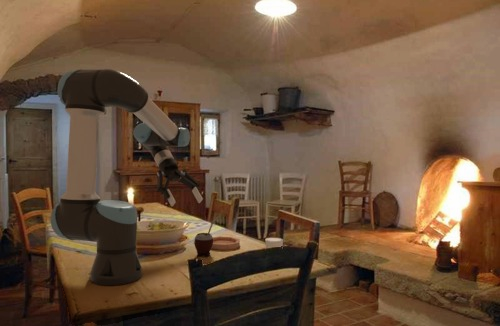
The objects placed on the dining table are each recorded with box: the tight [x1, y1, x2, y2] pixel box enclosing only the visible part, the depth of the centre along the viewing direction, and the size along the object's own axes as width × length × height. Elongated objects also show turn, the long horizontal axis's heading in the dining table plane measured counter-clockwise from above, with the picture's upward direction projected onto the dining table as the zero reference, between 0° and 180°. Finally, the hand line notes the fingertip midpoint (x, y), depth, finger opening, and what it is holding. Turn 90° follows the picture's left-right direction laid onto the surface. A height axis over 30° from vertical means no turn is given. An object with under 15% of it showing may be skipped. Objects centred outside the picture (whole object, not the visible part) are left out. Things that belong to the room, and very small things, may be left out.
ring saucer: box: [211, 235, 241, 251], centre depth 161 cm, size 14×14×2 cm
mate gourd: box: [193, 216, 220, 258], centre depth 146 cm, size 8×8×15 cm
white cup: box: [265, 237, 284, 249], centre depth 145 cm, size 7×7×7 cm
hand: (187, 202), depth 154 cm, fingers open, 13 cm apart
